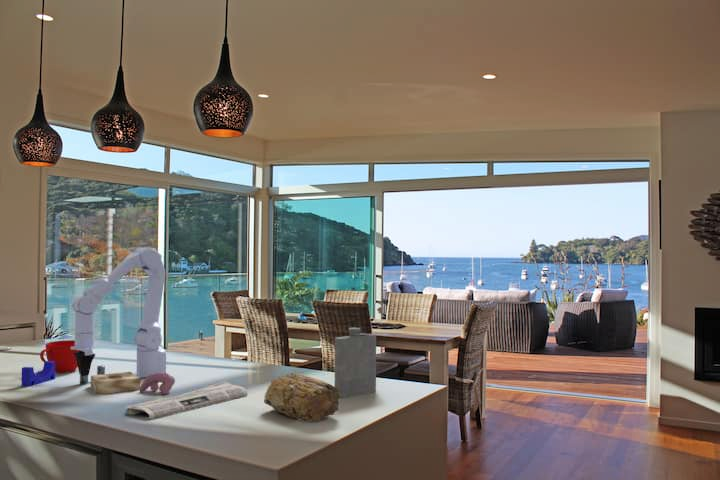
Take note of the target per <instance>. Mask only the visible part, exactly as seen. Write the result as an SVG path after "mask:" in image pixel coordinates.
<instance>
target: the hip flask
mask: <svg viewBox="0 0 720 480" xmlns="http://www.w3.org/2000/svg"><path fill="white" fill-rule="evenodd" d="M360 332H361V328H360V327H349V328H348V333H349V335H345V336H344V335H343V336H340V337H339V336H338V337H335V338H334V387H336V388H337V390H338V392H339V398H338V400H339V399H346V398H349V397H353V396H358V395H359V396H360V395H363V394H369V393H375V392H377V333H360Z"/></svg>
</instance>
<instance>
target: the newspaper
mask: <svg viewBox="0 0 720 480" xmlns="http://www.w3.org/2000/svg"><path fill="white" fill-rule="evenodd" d="M247 396H248V391H247V390H246V388H245V387H243V386H240V385H237V384H232V383H230V382H228V380H223V381H220V382H217V383H214V384H212V385H208V386H207V385H206V386H205V387H202V388H201V387H200V388H198V389H195V390H191V391H188V392H186V393H183V394H178V395H175V396H169V397H164V398H159V399H155V400H152V401H146V402H145V401H144V402H142V403H136V404H131V405H126V408H127V409H125V410H126V414H128V415H136V414H140V413H141V414H142V413H146V414H148V416H150V419H149V418H148V417H147V418H146V419H149V421H150V420H154V419H155V420H156V419H159V418H162V417H167V416H171V414H172V415H175V414H174V413H176V414H179V413H178V412H180V413H183V412H182V411H184V412H187V411H186V410H188V411H191V410H190V409H192V410H195V408H196V409H199V408H198V407H200V408H203V406H204V407H207V405H208V406H212V405H215V403H216V404H219V403H218V402H220V403H224V402H227V400H228V401H232V400H235V399H236V400H237V399H240V398H245V397H247ZM231 399H232V400H231ZM223 401H224V402H223ZM211 404H212V405H211Z"/></svg>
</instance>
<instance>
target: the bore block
mask: <svg viewBox="0 0 720 480" xmlns="http://www.w3.org/2000/svg"><path fill="white" fill-rule="evenodd" d="M133 373H134V372H131V371H125V372H116V373H115V372H114V373H105V374H103V375H97V374H95V375H91V376H90V388H91V389H93V390H94V391H95V392H96V393H97V394H98V395H104V394H113V393H118V392H128V391H129V392H130V391H137V390H139V389H140V386H141V378H139V377H138V376H136V375H134V374H133ZM139 391H140V390H139Z"/></svg>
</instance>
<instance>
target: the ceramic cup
mask: <svg viewBox="0 0 720 480" xmlns="http://www.w3.org/2000/svg"><path fill="white" fill-rule="evenodd" d="M44 346H45V348H44V349H42V350H41V351H40V354H39V357H40V360H41V361H42V363H44V362H46V361H53V362H55V373H72V372H75V371H76V370H78V365H77V361H76V358H75V356H74V354H73V353H75V352H79V350H71V347H74V346H75V339H73V340H70V339H69V340H55V341H50V342H46V343H45V345H44ZM44 355H45V356H46V359H45V357H44Z"/></svg>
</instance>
